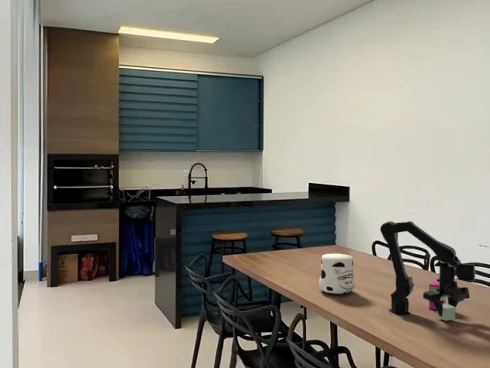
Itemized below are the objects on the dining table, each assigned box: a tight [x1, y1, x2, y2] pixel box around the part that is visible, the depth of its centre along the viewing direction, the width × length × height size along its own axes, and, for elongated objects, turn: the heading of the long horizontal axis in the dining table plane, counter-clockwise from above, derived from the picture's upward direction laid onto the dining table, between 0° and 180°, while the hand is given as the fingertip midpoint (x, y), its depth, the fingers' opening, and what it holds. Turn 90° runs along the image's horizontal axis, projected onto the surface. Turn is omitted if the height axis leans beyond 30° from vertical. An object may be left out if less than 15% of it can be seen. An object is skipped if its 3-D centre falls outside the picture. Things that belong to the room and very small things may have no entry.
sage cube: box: [436, 303, 457, 321], centre depth 189 cm, size 5×5×5 cm
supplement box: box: [428, 281, 447, 312], centre depth 203 cm, size 6×6×12 cm
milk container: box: [318, 253, 356, 296], centre depth 228 cm, size 17×17×18 cm
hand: (445, 315), depth 189 cm, fingers closed on sage cube, 5 cm apart
